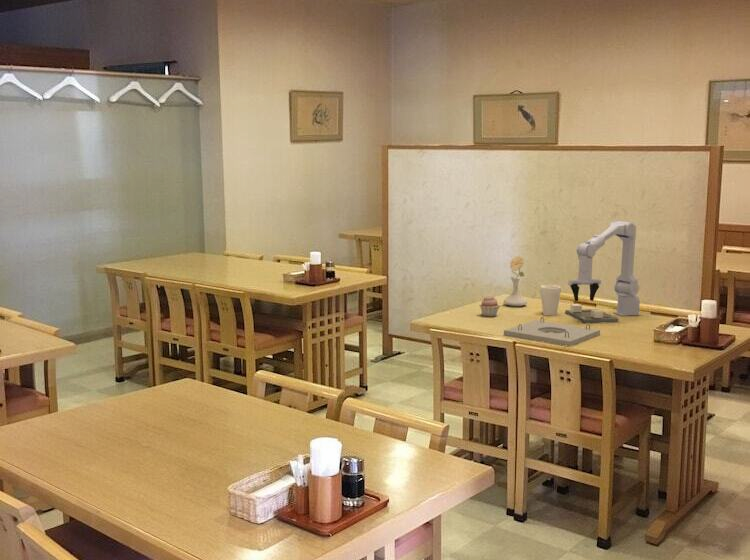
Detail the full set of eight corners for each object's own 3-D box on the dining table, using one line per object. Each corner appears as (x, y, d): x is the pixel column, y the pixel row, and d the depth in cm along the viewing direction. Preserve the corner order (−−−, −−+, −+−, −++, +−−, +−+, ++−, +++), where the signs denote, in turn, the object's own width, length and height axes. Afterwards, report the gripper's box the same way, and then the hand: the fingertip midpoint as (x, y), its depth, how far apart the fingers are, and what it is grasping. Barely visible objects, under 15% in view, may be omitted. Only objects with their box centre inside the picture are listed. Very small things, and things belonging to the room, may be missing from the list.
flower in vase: (499, 303, 409) (500, 254, 405) (520, 302, 412) (521, 253, 408) (511, 308, 396) (512, 257, 392) (532, 307, 400) (534, 256, 396)
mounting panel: (570, 335, 321) (504, 324, 340) (570, 348, 322) (503, 336, 341) (600, 324, 342) (536, 314, 361) (599, 336, 343) (535, 326, 362)
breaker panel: (597, 312, 389) (597, 308, 389) (618, 322, 368) (618, 318, 367) (565, 313, 386) (565, 309, 386) (584, 323, 365) (584, 319, 365)
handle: (578, 310, 385) (578, 303, 385) (581, 311, 381) (581, 305, 381) (570, 310, 384) (570, 304, 384) (573, 312, 381) (573, 305, 380)
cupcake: (494, 313, 386) (495, 292, 384) (502, 317, 377) (503, 295, 376) (475, 314, 384) (476, 293, 382) (483, 318, 375) (484, 296, 373)
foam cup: (554, 317, 378) (555, 289, 376) (536, 314, 383) (537, 287, 381) (563, 313, 385) (564, 286, 383) (545, 311, 391) (546, 284, 389)
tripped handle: (599, 316, 372) (599, 309, 372) (602, 317, 368) (603, 311, 368) (590, 316, 371) (591, 309, 371) (594, 318, 368) (594, 311, 367)
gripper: (573, 272, 360) (572, 302, 362) (604, 271, 363) (603, 301, 365) (567, 269, 367) (565, 299, 369) (597, 269, 369) (596, 298, 372)
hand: (583, 300), depth 368 cm, fingers open, 7 cm apart
